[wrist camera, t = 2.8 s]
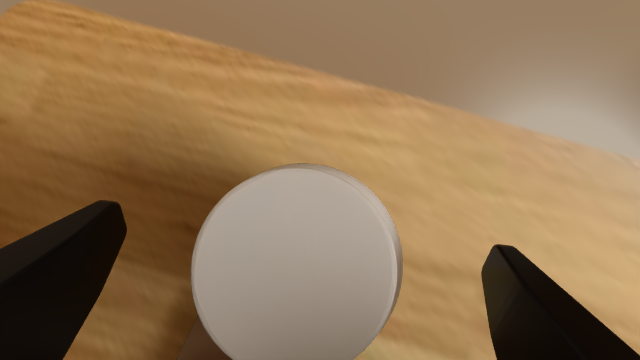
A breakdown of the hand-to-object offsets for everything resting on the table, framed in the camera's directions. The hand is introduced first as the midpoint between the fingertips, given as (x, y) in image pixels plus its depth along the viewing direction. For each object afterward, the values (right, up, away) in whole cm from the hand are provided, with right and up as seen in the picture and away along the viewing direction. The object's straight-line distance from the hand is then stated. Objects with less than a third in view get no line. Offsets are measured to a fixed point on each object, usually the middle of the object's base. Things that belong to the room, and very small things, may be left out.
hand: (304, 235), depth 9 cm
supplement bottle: (0, -2, +8) cm, 8 cm away
